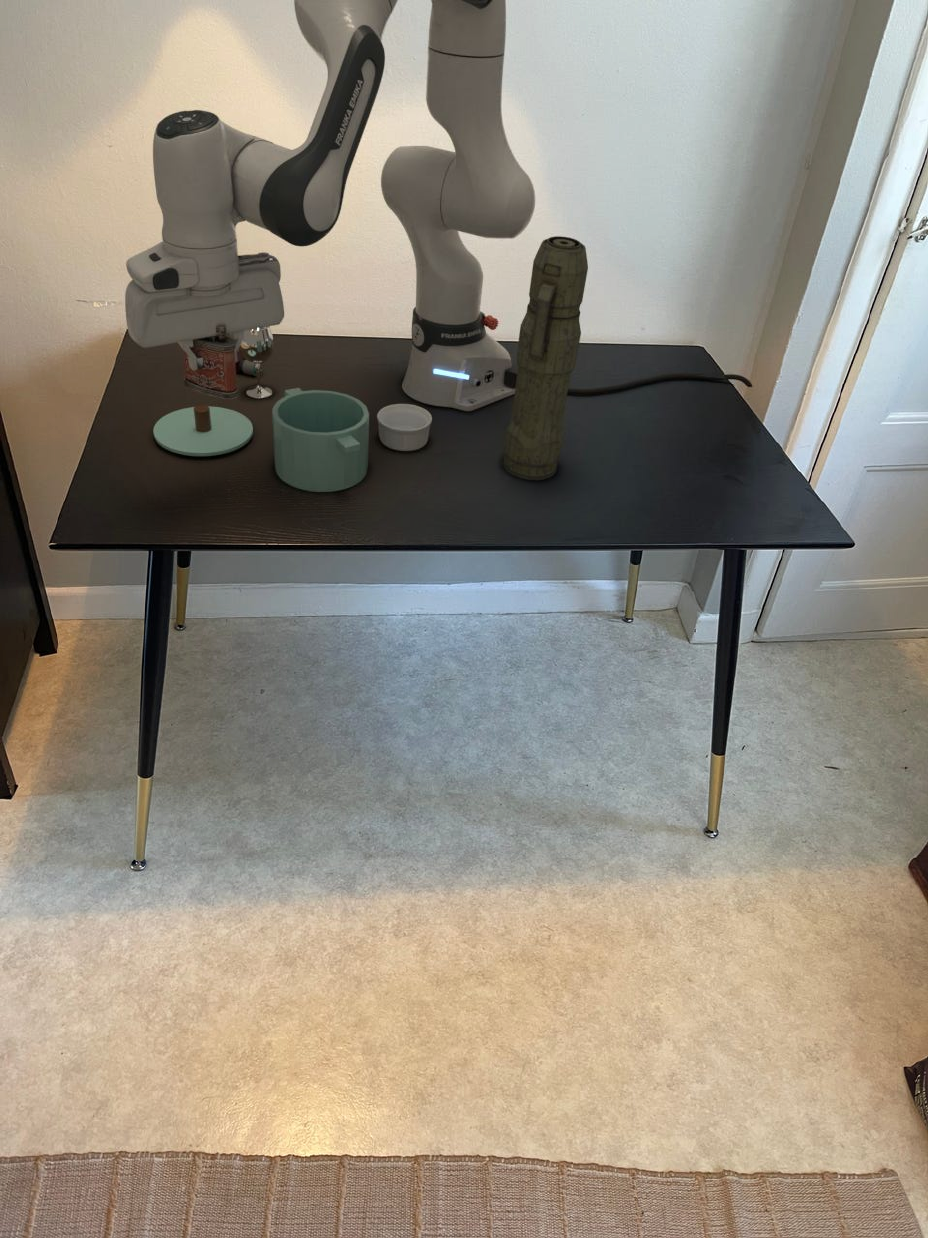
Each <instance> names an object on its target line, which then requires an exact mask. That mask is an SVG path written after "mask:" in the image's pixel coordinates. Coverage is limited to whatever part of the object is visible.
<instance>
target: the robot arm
mask: <svg viewBox="0 0 928 1238" xmlns="http://www.w3.org/2000/svg"><path fill="white" fill-rule="evenodd" d="M430 1H431V9H430V10H431V11H430V17H429V27H428V40H427V59H426V60H427V61H426V83H425V84H426V85H425V102H426V107H427V109H428V112H429V114H430V116H431V117H432V118H433V120H434V121H435V122H436V123H437V124H438V125H439V126H441V127H442V129H444V130H445V132H446V133H447V135H448V136H449V138H450V140H451V142H452V145H453V149H454V151H452V150H448V149H443V148H438V147H434V146H429V145H405V146H404V145H403V146H402V145H401V146H398V147H396V148H395V149H394V150H393V151H391V153H390V154H389V155H388V157H387V158H386V160H385V161H384V164H383V166H382V170H381V173H380V188H381V189H380V190H381V195H382V197H383V199H384V202H385V204H386V206H387V207H388V209H390V210H391V212H393V214H394V215H395V216H396V217H397V219H398V220H399V222H400V223H401V226H402V227H403V229H404V231H405V233H406V235H407V238H408V241H409V242H410V246H411V249H412V253H413V257H414V262H415V284H416V285H415V287H416V288H415V306H414V308H413V309H412V320H411V349H410V356H409V360H408V365H407V368H406V372H405V375H404V378H403V379H402V383H401V388H402V390H403V392H404V393H405V394H406V395H407V396H408V397H410V398H411V399H413V400H415V401H417V402H420V403H422V404H426V405H430V406H435V407H441V408H442V407H443V408H453V409H455V410H456V409H457V410H460V411H464V412H472V411H475V410H477V409H480V408H482V407H485V406H488V405H490V404H492V403H495V402H497V401H500V400H503V399H506V398H508V397H510V396H513V395H515V388H516V381H517V373H518V363H517V362H513V363H512V357H511V355H510V353H509V351H508V350H507V349H506V348H505V347H504V346H502V344H500V343H499V342H498V341H497V340H496V339H495V338H494V337H492V336H491V335H490V334H489V333H488V332H487V330H486V328H488V329H489V330H491V331H494V330H496V329H497V327H498V326H499V320H498V318H495V317H493V315H490V314H488V315H486V314H485V313H484V312H483V311H481V305H482V294H483V284H484V271H483V267H482V265H481V263H480V261H479V260H478V259H477V257H476V256H475V255H474V254H473V253H472V252H470V250H469V249H468V248H467V247H466V245H465V244H464V242H463V241H462V238H461V236H460V233H459V232H461V233H464V234H468V235H471V236H472V235H473V236H475V237H476V236H477V237H480V238H484V239H499V240H500V239H506V240H507V239H510V240H511V239H515V238H517V237H518V236H519V235H521V234H522V233H523V232H524V231H525V230H526V228H527V227H528V226H529V224H530V223H531V220H532V218H533V216H534V212H535V209H536V208H535V207H536V191H535V187H534V184H533V182H532V179H531V178H530V176H529V174H528V173H527V172H526V171H525V170H524V169H523V167H522V166H521V165H520V163H519V161H517V159H516V157H515V154H514V153H513V151H512V149H511V145H510V144H509V141H508V138H507V134H506V131H505V125H504V120H503V109H502V108H503V107H502V104H503V103H502V99H503V94H502V93H503V77H504V63H505V52H506V51H505V50H506V36H507V35H506V34H507V3H506V2H507V1H506V0H430ZM398 2H399V0H293V5H294V13H295V14H294V15H295V18H296V23H297V25H298V28H299V31H300V33H301V35H302V37H303V38H304V40H305V41H306V42H307V45H308V46H309V47H310V48H311V49H312V51H313V52H314V53H315V55H317V56H318V58H319V59H320V60H321V61H322V62H323V63H324V64H325V66H326V70H327V80H326V85H325V86H324V87H325V88H324V91H323V93H322V96H321V99H320V101H319V104H318V107H317V110H316V112H315V115H314V118H313V121H312V124H311V126H310V129H309V132H308V134H307V137H306V139H305V141H304V142H303V143H302V144H301V145H300V146H298V147H296V148H293V149H291V148H288V147H284V146H282V145H279V144H276V143H274V142H272V141H270V140H267V139H265V138H261V137H260V136H259V137H258V136H255V135H252V134H249V133H246V132H243V131H241V130H238V129H237V128H234V127H232V126H230V125H229V124H227V123H225V122H224V121H223V120H221V118H220V117H219V116H218V115H217V114H216V113H213V112H211V111H208V110H202V109H194V110H180V111H176V112H173V113H171V114H168V115H167V116H165V117H164V118H162V119H161V120H160V121H159V122H158V123H157V124H156V127H155V130H154V133H153V139H152V165H153V166H152V167H153V177H154V186H155V193H156V200H157V204H158V205H159V208H160V210H161V214H162V227H161V240H162V241H160V242H159V243H157V244H155V245H153V246H151V247H150V248H147V249H146V250H144V251H141V252H139V253H137V254H135V255H133V256H131V257H129V258H128V259H127V260H126V264H125V265H126V267H125V268H126V271H127V273H128V275H129V277H130V278H131V279H132V280H131V281H129V283H128V284H127V286H126V288H125V294H124V305H125V306H124V307H125V309H124V310H125V319H126V320H125V321H126V327H127V328H126V329H127V332H128V334H129V336H130V338H131V339H132V340H133V341H134V342H135V343H136V344H137V345H138V346H140V347H141V348H143V349H147V348H148V349H149V348H154V347H159V346H165V345H171V344H176V343H177V344H178V345H179V347H180V348H181V349H182V351H183V350H184V351H185V353H186V354H187V355H188V362H189V366H190V368H191V369H192V370H193V371H195V370H199V369H203V368H204V365H203V362H204V361H203V357H201V356H198V355H195V354H194V353H193V352H192V351H191V349H190V348H189V347H193V340H194V339H199V338H205V337H211V336H216V335H218V334H217V333H216V326H220V325H226V335H227V334H228V335H230V337H229V338H231V339H233V340H235V342H236V348H235V363H236V362H237V361H238V360H237V353H238V352H239V347H240V345H241V343H242V341H243V339H244V334H243V331H245V330H251V329H256V328H262V327H268V326H270V327H272V326H273V327H274V326H278V325H280V324H281V323H282V321H283V320H284V318H285V305H284V298H283V294H282V293H283V292H282V289H281V285H280V281H281V278H282V271H281V263H280V261H279V260H278V258H277V257H276V256H274V255H272V254H270V253H269V252H262V251H261V252H258V253H254V254H240V255H239V251H238V239H237V231H236V228H237V225H238V224H239V223H243V222H247V223H249V224H252V225H255V226H257V227H259V228H260V229H263V230H266V231H269V232H270V233H271V234H273V235H275V236H276V237H278V238H280V239H282V240H283V241H285V242H287V243H288V244H290V245H293V246H295V247H308V246H312V245H314V244H316V243H318V242H319V241H321V240H323V239H324V238H325V237H326V236H327V235H328V234H329V233H330V232H331V231H332V229H333V228H334V227H335V225H336V223H337V222H338V219H339V217H340V214H341V210H342V207H343V201H344V196H345V191H346V190H345V189H346V184H347V180H348V178H349V174H350V171H351V168H352V166H353V162H354V160H355V157H356V154H357V151H358V149H359V146H360V144H361V140H362V138H363V135H364V132H365V130H366V126H367V125H368V121H369V119H370V116H371V113H372V110H373V107H374V104H375V101H376V99H377V95H378V93H379V90H380V86H381V84H382V79H383V75H384V71H385V64H386V53H385V48H384V47H385V46H384V45H383V42H382V40H383V36H384V32H385V29H386V26H387V24H388V23H389V20H390V17H391V16H392V14H393V11H394V10H395V8H396V6H397V3H398ZM698 375H699V376H698ZM700 375H705V373H704V374H701V373H668V374H661V375H655V376H651V377H645V378H640V379H637V380H632V381H629V382H624V383H621V384H616V385H610V386H603V387H596V388H572V387H571V388H570V387H568V392H567V395H568V394H569V395H597V394H605V393H610V392H611V393H612V392H616V391H617V392H618V391H623V390H626V389H630V388H633V387H637V386H641V385H646V384H647V385H648V384H651V383H656V382H662V381H666V380H683V379H684V380H686V379H687V380H702V381H703V380H705V381H725V380H726V381H727V380H732V381H733V380H735V381H739V382H741V383H743V384H744V386H746V387H748V388H753V384H752V382H751V381H750V379H748V378H747V377H745V376H742V375H739V374H734V373H733V374H731V373H729V374H728V373H727V374H716V375H717V376H719V375H721V376H722V375H724V376H725V377H726V378H727V379H723V378H716V377H706V376H700Z"/></svg>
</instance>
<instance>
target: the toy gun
mask: <svg viewBox="0 0 928 1238" xmlns="http://www.w3.org/2000/svg"><path fill="white" fill-rule="evenodd" d="M237 360H238V361H237V362H236V363H235V368H236V374H240V373H243V374H245V375H250V376H253V377H257V374H256V371H255V364H256V363H253V362H249V361H247V360H246V359H244V357H243V356H242V355H241V353H240V350H238V351H237ZM261 371H262V369H260V372H261Z"/></svg>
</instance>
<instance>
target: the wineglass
mask: <svg viewBox="0 0 928 1238" xmlns="http://www.w3.org/2000/svg"><path fill="white" fill-rule="evenodd" d="M243 334H244V339H243V341H242V343H241V345H240V347H239V349H238V351H240V353H241V355H242V356H243V357H244V359H246V360H247V361H249V362H253V363H256V364H255V371H256V374H257V376H256V385H255V386H250V387H249V388H247V389H246V390H245V393H246V396H248V397H250V398H253V399H266V398H269V397H271V396H272V395H273V390H272V389H271V388H270V387H267V386H265V385H264V386H263V385H262V384H261V379H260V378H261V376H260V374H261V371H260V369H261V368H262V367H261V364H262V363H266V362H267V361H269V360H270V359H271V357H272V356H273V354H274V351H275V343H274V342H275V341H274V335H273V332H272V329H271V326H268V327H262V328H256V329H251V330H245V331H243ZM261 370H262V369H261Z"/></svg>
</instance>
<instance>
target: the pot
mask: <svg viewBox="0 0 928 1238" xmlns="http://www.w3.org/2000/svg"><path fill="white" fill-rule="evenodd" d="M271 418H272V437H273V438H272V439H273V441H272V442H273V456H274V457H273V458H274V467H275V473H276V475H277V477H278V478H279V479H280V480H281V481H282V482H284V483H285V484H287V485H289V486H291V487H293V488H295V489H299V490H302V491H307V492H316V493H330V492H338V491H343V490H346V489H349V488H351V487H355V485H357V484H359V483H360V482H361V481H362V480H363V479H364V478H365V477H366V476H367V473H368V468H369V440H370V439H369V438H370V437H369V436H370V435H369V433H370V412H369V410H368V407H367V405H366V404H364V403H363V402H362V401H361V400H360V399H358V398H356V397H354V396H352V395H349V394H347V393H342V392H339V391H335V390H334V391H333V390H321V389H320V390H319V389H312V390H302V389H301V388H300V387H295V388H289V389H285V390H284V396H283V397H282V398H280V399H279V400H277V401H276V402H275V404H274V406H273V407H272V409H271Z"/></svg>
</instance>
